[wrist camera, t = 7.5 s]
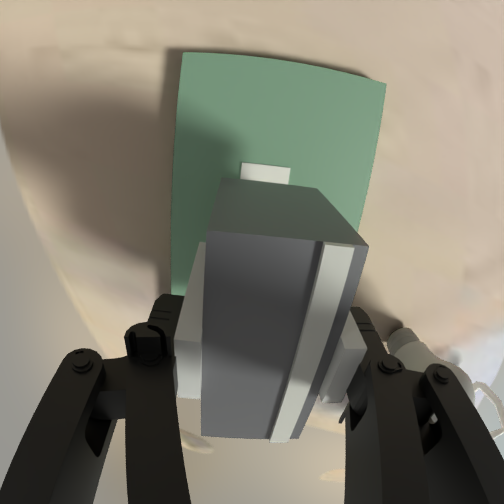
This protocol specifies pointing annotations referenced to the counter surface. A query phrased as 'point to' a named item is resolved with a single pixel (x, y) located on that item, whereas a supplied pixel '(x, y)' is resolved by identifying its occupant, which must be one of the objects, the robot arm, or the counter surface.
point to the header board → (267, 138)
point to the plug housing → (272, 306)
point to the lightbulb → (423, 358)
